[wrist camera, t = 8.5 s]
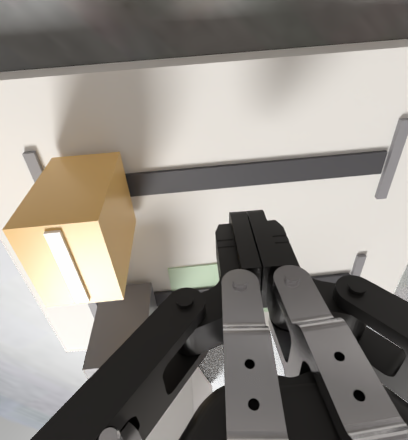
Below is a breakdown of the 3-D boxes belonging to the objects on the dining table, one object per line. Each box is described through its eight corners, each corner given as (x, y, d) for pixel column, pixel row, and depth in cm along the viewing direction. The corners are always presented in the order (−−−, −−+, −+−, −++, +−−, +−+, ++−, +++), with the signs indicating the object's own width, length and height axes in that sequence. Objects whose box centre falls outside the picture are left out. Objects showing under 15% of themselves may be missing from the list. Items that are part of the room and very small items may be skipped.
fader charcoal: (151, 282, 23) (145, 365, 18) (160, 320, 25) (157, 402, 20) (101, 287, 22) (81, 372, 18) (116, 325, 25) (102, 408, 20)
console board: (477, 33, 17) (515, 39, 15) (371, 301, 30) (383, 322, 28) (-63, 77, 16) (-93, 89, 14) (72, 332, 29) (65, 355, 27)
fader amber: (119, 151, 17) (97, 223, 12) (136, 220, 19) (123, 302, 14) (52, 157, 16) (0, 232, 12) (77, 226, 19) (45, 309, 14)
